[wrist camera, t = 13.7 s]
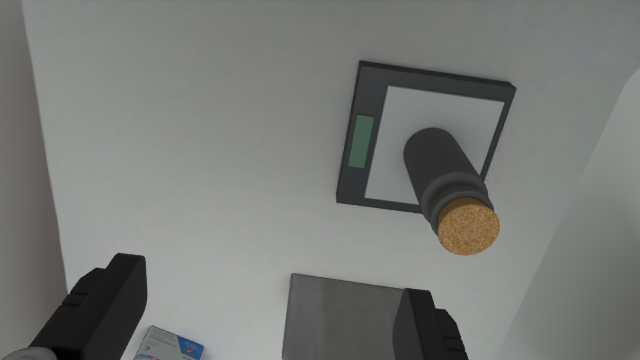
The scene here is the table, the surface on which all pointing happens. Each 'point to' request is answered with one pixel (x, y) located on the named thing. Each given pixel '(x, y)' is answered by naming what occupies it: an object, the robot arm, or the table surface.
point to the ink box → (167, 347)
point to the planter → (339, 320)
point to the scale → (414, 128)
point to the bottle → (450, 192)
